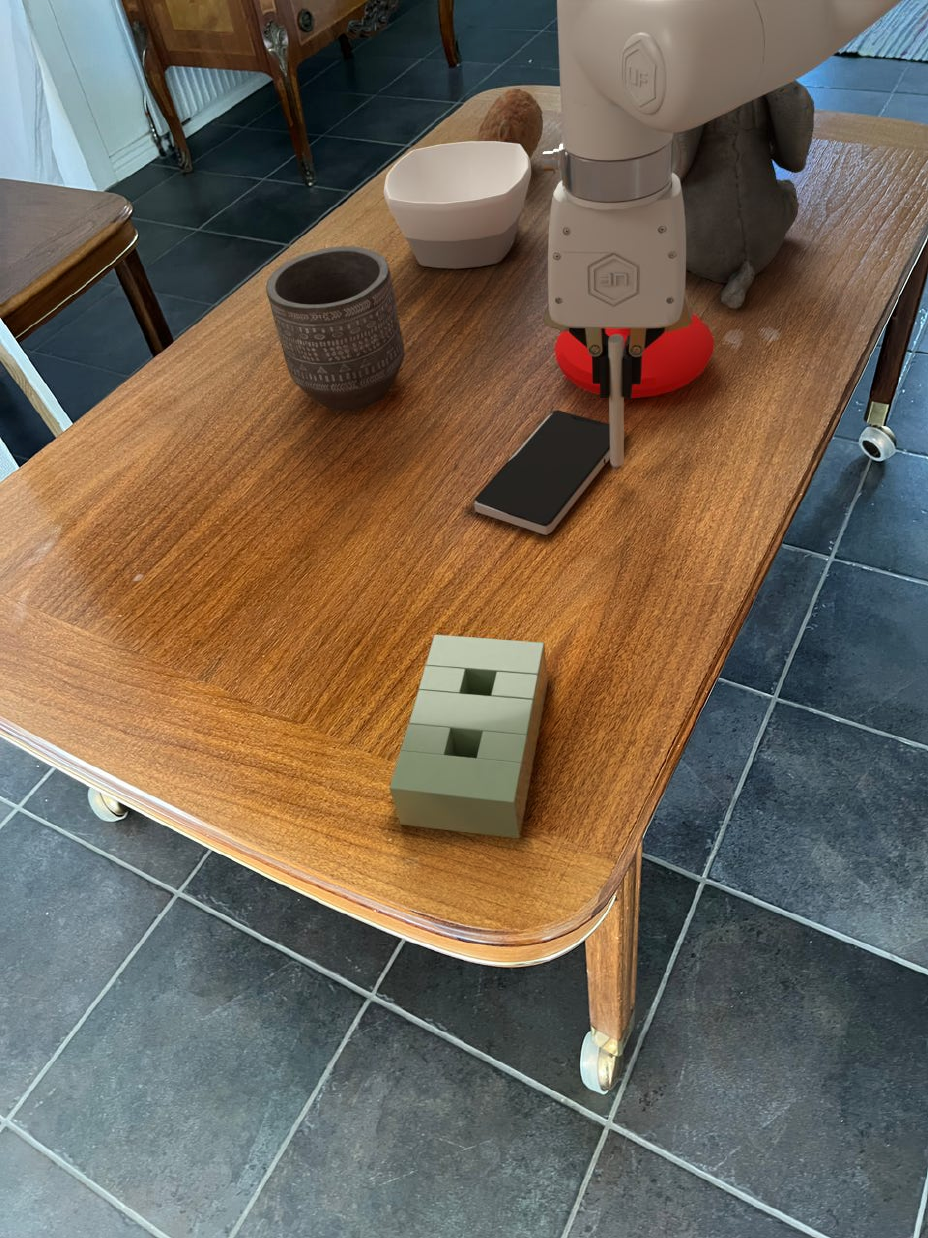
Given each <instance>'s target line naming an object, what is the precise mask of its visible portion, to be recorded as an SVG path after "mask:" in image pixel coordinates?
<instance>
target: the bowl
mask: <svg viewBox="0 0 928 1238" xmlns="http://www.w3.org/2000/svg"><path fill="white" fill-rule="evenodd" d="M531 178H532V164H531V158H530V159H529V157H528V155H527V154H526V152H525V151H524V149H523V148H522V146H521V145H520V144H515V143H506V142H497V141H478V140H477V141H476V140H474V141H470V140H469V141H460V142H451V143H441V144H436V145H430V146H426V147H425V146H424V147H422V148H417V149H416V148H415V149H412V150H411V151H409V152H408V153H407V154H405V155H404V156H403V157H402V158H400V159H399V160H398V161H396V162H395V163H394V165H393V166H392V168H391V169H390V170H389V172H388V173H386V177H385V180H384V185H383V186H384V187H383V197H384V200H385V203H386V204H387V205H386V206H387V208H388V209H389V211H390V213H391V214H392V217H393V218H394V220H395V222H396V224H397V226H398V228H399V230H400V232H401V234H402V235H403V237H404V239H405V240H406V242H407V244H408V246H409V249H411V251H412V254H413V256H414V257H415V259H416V261H417V263H418V264H419V265H420V266H423V267H427V268H435V269H446V270H447V269H450V270H462V269H472V268H480V267H485V266H491V265H496V264H498V263H500V262H501V261H503V259H504V258H505V257H506V256H507V255H508V253H509V252H510V250H511V248H512V246H513V245H514V243H515V240H516V235H517V231H518V228H519V224H520V219H521V215H522V212H523V209H524V205H525V201H526V198H527V193H528V189H529V186H530V183H531V182H530V181H531ZM512 241H513V242H512ZM511 243H512V244H511Z"/></svg>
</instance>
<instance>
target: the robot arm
mask: <svg viewBox="0 0 928 1238" xmlns="http://www.w3.org/2000/svg"><path fill="white" fill-rule="evenodd" d="M901 2H903V0H556V14H557V16H556V17H557V41H558V65H559V66H558V67H559V68H558V69H559V90H560V91H559V92H560V116H561V117H560V118H561V119H560V121H561V143H559V146H558V148H553V150H543V151H542V157H541V158H542V160H541V163H542V164H541V165H542V171H543V172H544V173H545V172H546V173H547V172H552V173H553V174H558V177H559V179H561V180H560V181H559V182H558V183H557V185H556V188H555V189H554V191H553V193H552V200H551V205H550V214H549V224H548V243H547V245H548V246H547V292H548V293H547V294H548V296H547V297H548V299H547V300H548V301H547V302H548V303H547V306H546V310H545V314H544V317H543V323H544V325H545V326H547V327H548V328H552V329H554V330H555V329H556V330H557V331H561V332H562V331H565V332H566V331H568V332H570V333H571V334H572V335H573V336H574V337H575V338H576V339H577V340H578V341H580V342H581V343H582V344H583V345H584V346H585V347H586V348H587V351H588V353H589V354H590V355H591V356H592V379H593V384H600V394H599V399H602V400H603V399H607V398H609V356H608V339H609V336H608V335H607V334H606V328H631V331H630V334H629V335H628V336H627V340H625V346H624V356H623V358H622V397H624V400H631V399H632V398H631V394H632V387H633V384H641V375H642V355H643V353H644V350H645V349H646V348H647V347H648V346H649V345H651V344H652V343H653V342H654V341H655V340H656V339H658V338H659V337H660V336H661V335H662V334H663V333H664V332H671V331H674V330H678V329H681V328H685V327H688V326H690V324H691V323H692V314H694V313H693V309H692V306H691V303H690V300H689V296H688V294H687V290H686V279H687V278H686V275H687V270H686V226H685V212H684V202H683V195H682V189H681V183H680V179H679V178H678V176H677V175H675V174H674V173H672V155H673V133H675V132H683V131H686V130H690V129H693V128H695V127H698V126H700V125H702V124H704V123H706V122H708V121H710V120H712V119H715V118H717V117H719V116H721V115H723V114H725V113H728V112H730V111H732V110H734V109H735V108H737V107H739V106H741V105H743V104H745V103H747V102H749V101H751V100H754V99H756V98H758V97H760V96H762V95H764V94H766V93H768V92H770V91H773V90H775V89H777V88H780V87H782V86H784V85H786V84H788V83H791V82H793V81H795V80H796V81H798V79H800V78H802V77H804V76H805V75H806V74H808V73H810V72H812V71H813V70H814V69H816V68H817V67H819V66H820V65H822V64H823V63H824V62H826V61H827V60H829V59H830V58H831V57H832V56H834V55H835V54H837V53H838V52H839V51H841V50H842V49H843V48H844V47H846V46H847V45H848V44H850V43H851V42H852V41H853V40H855V39H856V38H857V37H859V36H860V35H861V34H862V33H864V32H865V31H866V30H868V29H869V28H870V27H871V26H872V25H874V24H875V23H877V22H878V21H879V20H880V19H882V18H883V17H884V16H886V15H887V14H888V13H889V12H890V11H892V10H893V9H895V7H896V6H898V5H899V4H900V3H901Z"/></svg>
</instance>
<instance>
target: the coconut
mask: <svg viewBox="0 0 928 1238" xmlns="http://www.w3.org/2000/svg"><path fill="white" fill-rule="evenodd" d="M478 129H479V130H478V136H477V141H497V142H506V143H515V144H520V145H521V146H522V148H523V149H524V151H525V152H526V154H527V155H528V157H529V159H530V160H531V158H532V157H533V155H534V152H535V151H536V149H537V147H538V145H539V142H540V141H541V139H542V136H543V129H544V117H543V110H542V108H541V106H540V105H539V103H538V101H537V100H536V99H535V98H534V97H533V95H531V93H530V92H527V91H525V90H521V88H511V89H508V90H507V91H505V92H503V93H502V94H501V95H500V96H498V97H497V98H496V99H495V101H493V104H492V105H491V106H490V107H489V108H488V109H487V112H486V115H485V118H484V120H483V121H482V123H481V124H480V126H479V128H478Z"/></svg>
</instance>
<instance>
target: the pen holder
mask: <svg viewBox="0 0 928 1238" xmlns="http://www.w3.org/2000/svg"><path fill="white" fill-rule="evenodd" d="M548 679H549V678H548V667H547V656H546V643H545V642H542V641H541V642H540V641H528V640H514V639H501V638H499V639H498V638H488V637H476V636H475V637H474V636H460V635H448V634H437V633H436V634H434V635H433V638H432V641H431V645H430V648H429V652H428V655H427V658H426V662H425V666H424V667H423V672H422V675H421V678H420V682H419V685H418V689H417V693H416V696H415V699H414V703H413V706H412V710H411V714H410V717H409V720H408V724H407V726H406V729H405V733H404V736H403V740H402V744H401V747H400V751H399V754H398V758H397V761H396V764H395V767H394V771H393V774H392V778H391V782H390V785H389V789H388V790H389V791H390V792H389V793H390V795H391V798H392V801H393V804H394V808H395V810H396V814H397V818H398V821H399V824H400V825H403V826H410V827H421V828H428V829H436V830H445V831H453V832H461V833H462V832H463V833H469V834H478V835H485V836H486V835H487V836H494V837H495V836H496V837H502V838H510V839H511V838H512V839H520V838H521V831H522V826H523V821H524V815H525V810H526V803H527V799H528V794H529V788H530V782H531V777H532V771H533V764H534V760H535V754H536V749H537V742H538V737H539V732H540V727H541V722H542V716H543V711H544V705H545V701H546V700H545V699H546V694H547V688H548V682H549V680H548Z"/></svg>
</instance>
